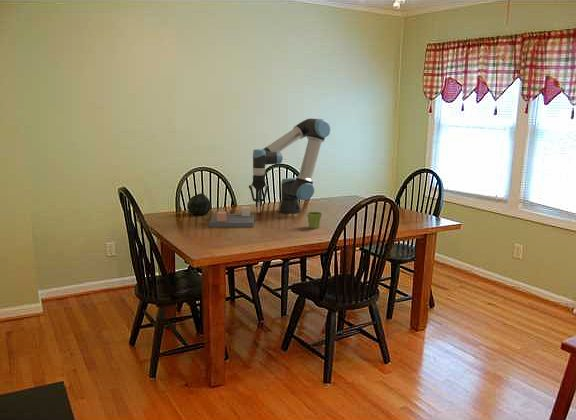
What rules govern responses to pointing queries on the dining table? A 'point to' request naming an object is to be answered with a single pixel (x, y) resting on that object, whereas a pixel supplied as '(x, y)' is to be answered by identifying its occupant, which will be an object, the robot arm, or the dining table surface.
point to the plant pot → (314, 219)
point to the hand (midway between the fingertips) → (258, 211)
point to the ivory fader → (245, 211)
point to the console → (233, 221)
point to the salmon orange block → (221, 216)
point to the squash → (199, 204)
